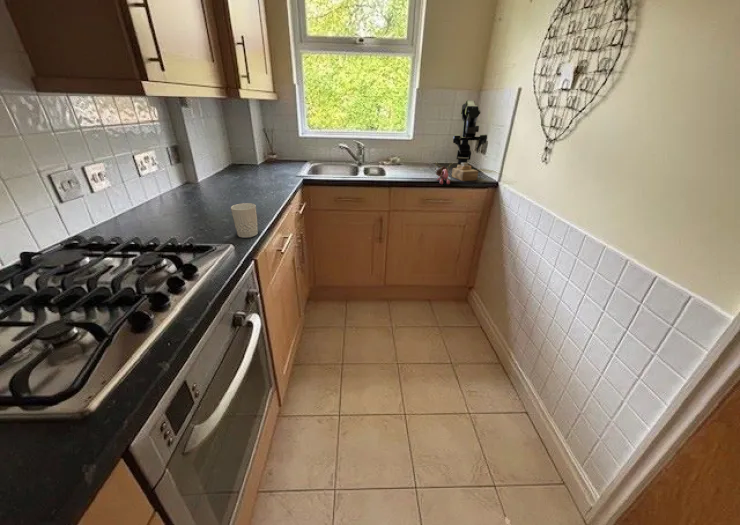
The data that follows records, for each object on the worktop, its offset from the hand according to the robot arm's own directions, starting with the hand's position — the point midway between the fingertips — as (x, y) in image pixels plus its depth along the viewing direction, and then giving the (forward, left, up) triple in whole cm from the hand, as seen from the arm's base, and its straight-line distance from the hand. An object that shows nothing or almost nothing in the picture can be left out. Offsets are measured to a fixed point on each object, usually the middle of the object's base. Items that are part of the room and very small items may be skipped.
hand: (468, 153), depth 191 cm
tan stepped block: (0, -1, -14) cm, 14 cm away
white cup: (+57, -123, -15) cm, 137 cm away
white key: (-3, 0, -8) cm, 8 cm away
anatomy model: (+5, -18, -15) cm, 24 cm away
